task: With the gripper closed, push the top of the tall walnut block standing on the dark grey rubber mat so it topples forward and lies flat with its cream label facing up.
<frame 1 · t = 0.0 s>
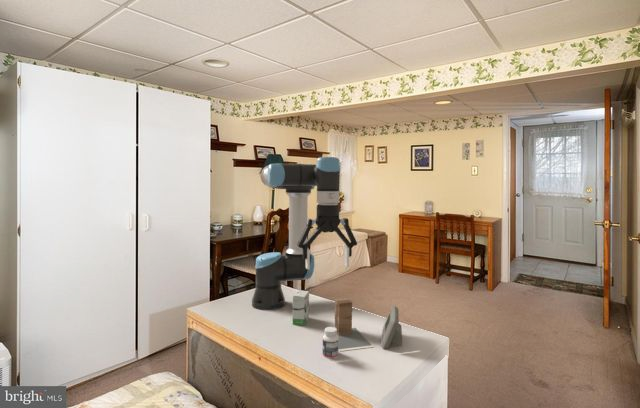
hand: (327, 267, 120), 28 cm above the table, fingers open, 13 cm apart
ink box: (300, 322, 146), on the table
block: (343, 332, 135), resting on mat
digital clock: (389, 341, 129), on the table
mat: (348, 339, 129), on the table
pill bottle: (330, 356, 117), on the table
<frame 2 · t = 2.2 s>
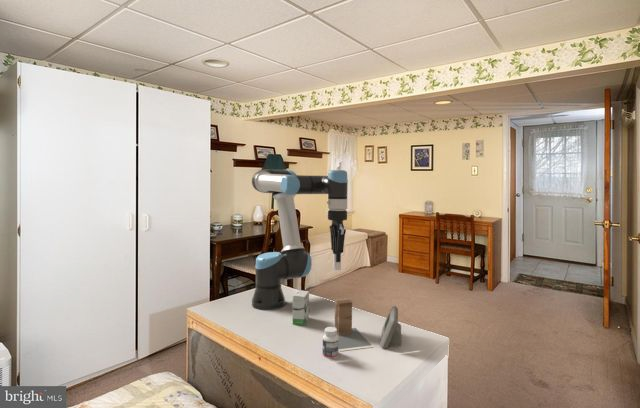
hand: (337, 269, 142), 22 cm above the table, fingers closed
nothing on the table moved.
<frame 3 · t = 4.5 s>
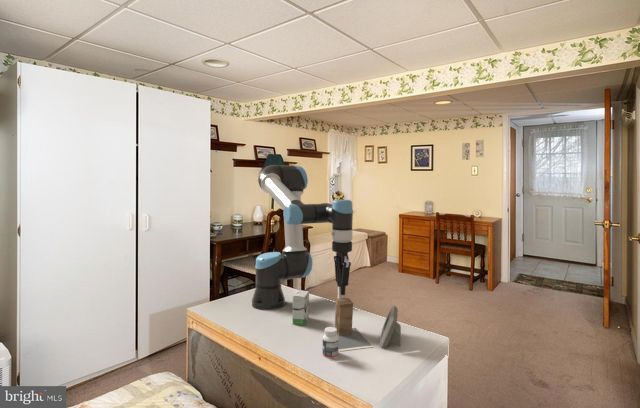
hand: (341, 302, 137), 11 cm above the table, fingers closed
block: (343, 331, 135), point 1 cm above the table, tilted 5°, touching gripper, mat
everything else where it was.
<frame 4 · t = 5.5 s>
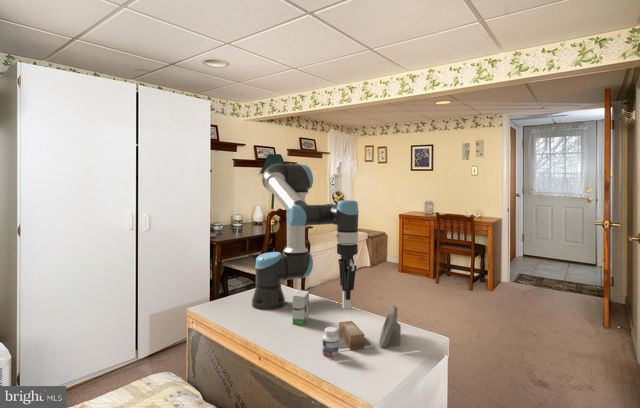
hand: (346, 307, 131), 11 cm above the table, fingers closed
block: (345, 328, 132), point 3 cm above the table, tilted 90°, touching mat
everything else where it was.
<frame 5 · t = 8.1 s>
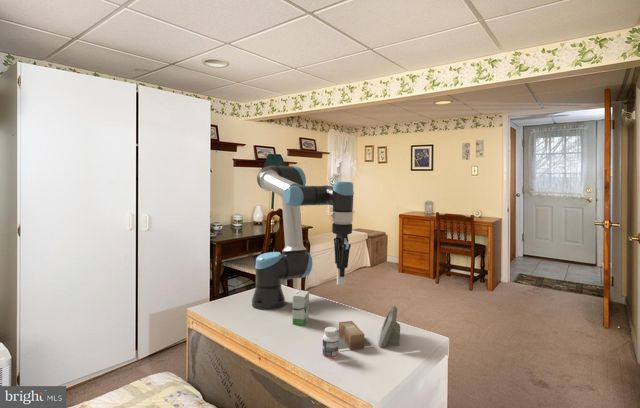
hand: (340, 284, 137), 18 cm above the table, fingers closed
nothing on the table moved.
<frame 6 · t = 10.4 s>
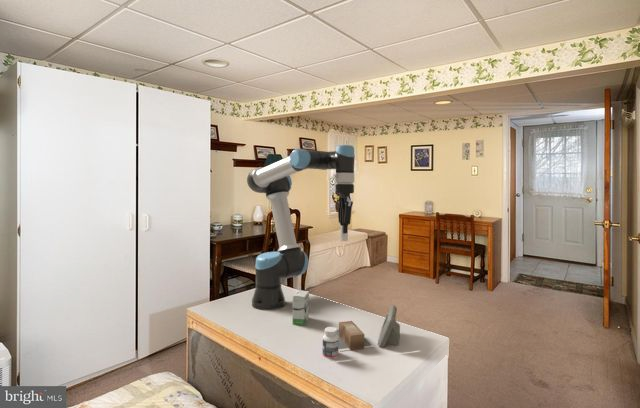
hand: (344, 240, 148), 32 cm above the table, fingers closed
at the end: block tilted 90°; block inside the target area (2.0 cm from its centre), point 2.9 cm above the table; the gripper is holding nothing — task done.
